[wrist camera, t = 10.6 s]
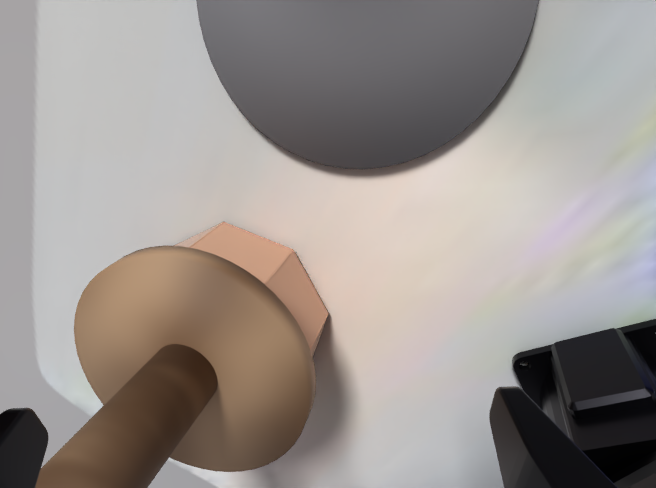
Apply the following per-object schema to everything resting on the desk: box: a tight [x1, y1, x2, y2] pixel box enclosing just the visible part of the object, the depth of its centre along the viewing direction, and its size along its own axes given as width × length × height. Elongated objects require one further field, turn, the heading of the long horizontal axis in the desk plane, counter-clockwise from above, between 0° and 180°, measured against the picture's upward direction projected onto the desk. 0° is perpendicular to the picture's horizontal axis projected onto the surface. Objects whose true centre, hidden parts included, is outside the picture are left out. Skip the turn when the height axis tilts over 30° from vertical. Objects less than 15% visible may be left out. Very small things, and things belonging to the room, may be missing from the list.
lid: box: [35, 246, 316, 488], centre depth 15 cm, size 11×11×13 cm
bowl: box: [174, 222, 329, 357], centre depth 23 cm, size 9×9×5 cm
